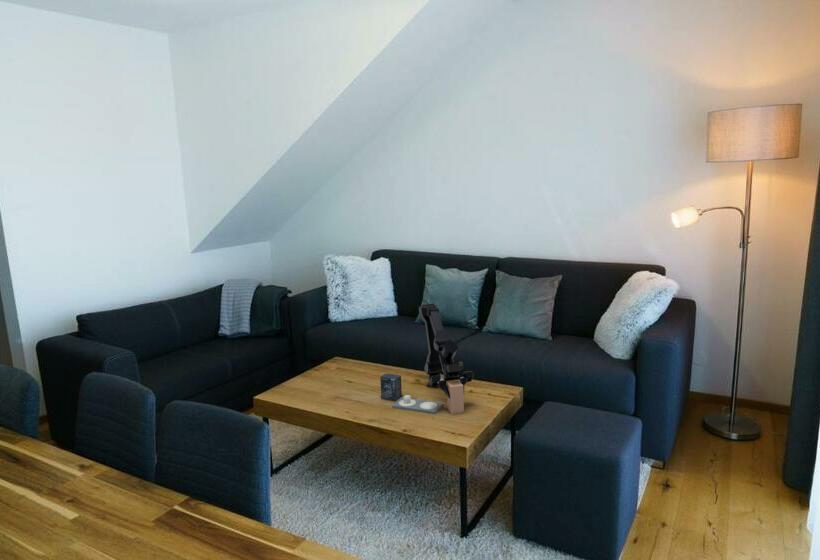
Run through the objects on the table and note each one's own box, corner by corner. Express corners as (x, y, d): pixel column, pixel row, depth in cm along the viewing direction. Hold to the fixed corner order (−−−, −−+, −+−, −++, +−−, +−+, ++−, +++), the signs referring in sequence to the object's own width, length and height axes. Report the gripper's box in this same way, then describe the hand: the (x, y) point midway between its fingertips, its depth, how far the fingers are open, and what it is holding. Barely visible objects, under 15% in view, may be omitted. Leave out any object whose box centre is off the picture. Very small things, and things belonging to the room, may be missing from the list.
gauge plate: (401, 399, 261) (401, 390, 260) (443, 404, 253) (443, 396, 252) (392, 407, 252) (391, 399, 251) (435, 413, 244) (434, 405, 243)
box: (381, 398, 262) (379, 376, 260) (387, 394, 267) (386, 372, 265) (395, 401, 259) (394, 379, 257) (402, 397, 263) (401, 375, 261)
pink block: (447, 408, 249) (446, 382, 246) (459, 407, 250) (459, 380, 248) (451, 414, 243) (450, 387, 241) (463, 412, 245) (463, 385, 242)
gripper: (430, 357, 244) (438, 392, 235) (472, 352, 248) (481, 386, 240) (426, 369, 253) (433, 402, 245) (466, 364, 257) (475, 397, 249)
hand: (456, 397), depth 244 cm, fingers closed on pink block, 5 cm apart
